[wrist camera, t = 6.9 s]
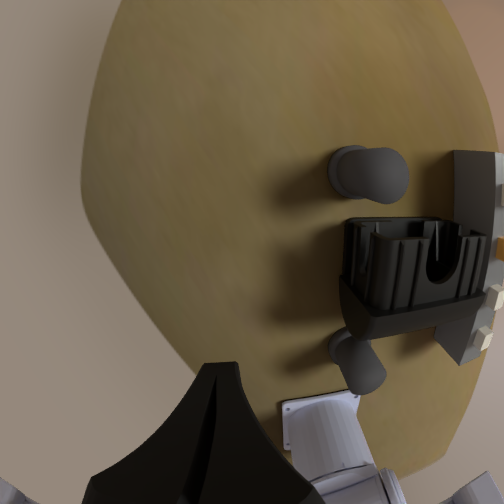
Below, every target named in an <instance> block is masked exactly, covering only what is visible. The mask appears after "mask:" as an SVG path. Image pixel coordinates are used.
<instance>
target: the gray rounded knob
mask: <svg viewBox="0 0 504 504" xmlns="http://www.w3.org/2000/svg"><path fill="white" fill-rule="evenodd" d="M328 178H329V181H330V183H331V185H332V187H333V188H334V189H335V190H336V191H337V192H338V193H339V194H341V195H343V196H345V197H348V198H351V199H364V198H366V199H369V200H372V201H375V202H378V203H382V204H391V203H394V202H396V201H398V200H399V199H400V198H401V197H402V196H403V195H404V193H405V192H406V190H407V187H408V183H409V171H408V167H407V164H406V162H405V160H404V159H403V157H402V156H401V155H400V154H399V153H398V152H396V151H395V150H393V149H390V148H371V149H367V148H365V147H363V146H358V145H353V146H346V147H342V148H340V149H338V150H337V151H336V152H335V153H334V154H333V155H332V156H331V158H330V160H329V163H328Z"/></svg>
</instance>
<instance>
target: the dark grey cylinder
mask: <svg viewBox="0 0 504 504" xmlns="http://www.w3.org/2000/svg"><path fill="white" fill-rule="evenodd" d="M328 351H329V353H330V356H331V358H332V360H333V362H334V363H336V364H337V365H339V367H340V370H341V372H342V374H343V376H344V379H345V381H346V383H347V386H348V388H349V390H350V392H351V393H352V394H354V395H365V394H368V393H371V392H373V391H374V390H376V389H377V388H378V387H380V386H381V384H382V383H383V382H384V380H385V378H386V370H385V368H384V367H383V365H382V363H381V362H380V360H379V359H378V357H377V355H376V354H375V352H374V351H373V349H372V348H371V340H366V341H359V340H356V339H355V338H354V337H352V335H351V334H350V333H349V331H348V329H347V327H344V328H342V329H340V330H339V331H337V332H336V333H335V334H334V335H333V336H332V338H331V339H330V341H329V344H328Z"/></svg>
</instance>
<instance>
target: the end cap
mask: <svg viewBox="0 0 504 504" xmlns="http://www.w3.org/2000/svg"><path fill="white" fill-rule="evenodd" d="M462 228H463V225H461V224H458V223H456V222H453V221H449V220H442V219H440V218H438V217H355V218H349V219H348V220H347V221H346V223H345V229H344V251H343V267H342V275H340V276H339V293H340V303H341V310H342V314H343V318H344V321H345V324H346V327H347V329H348V331H349V333H350V334H351V335H352V337H354V338H355V339H356V340H359V341H366V340H372V339H377V338H383V337H388V336H393V335H398V334H403V333H408V332H412V331H417V330H421V329H425V328H430V327H434V326H438V325H442V324H446V323H449V322H453V321H457V320H460V319H464V318H467V317H470V316H472V315H473V314H475V313H476V312H477V311H478V310H479V309H480V307H481V305H482V304H483V302H484V299H485V297H486V293H485V292H483V291H482V290H480V289H479V288H477V283H478V279H479V275H480V270H481V265H482V260H483V255H484V249H485V243H486V236H487V235H486V234H484V233H481V232H479V231H476V230H474V229H471V230H470V235H462Z"/></svg>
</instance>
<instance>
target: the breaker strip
mask: <svg viewBox="0 0 504 504" xmlns="http://www.w3.org/2000/svg"><path fill="white" fill-rule="evenodd" d="M453 151H454V183H455V186H454V218H453V222H456V223H458V224H461V225H463V228H462V235H470V230H471V229H474V230H476V231H479V232H481V233H484V234H486V235H487V236H486V243H485V249H484V255H483V260H482V265H481V270H480V275H479V279H478V283H477V288H479V289H480V290H482V291H483V292H485V293H486V297H485V299H484V302H483V304H482V305H481V307H480V309H479V310H478V311H477V312H476V313H475V314H473V315H472V316H470V317H467V318H464V319H460V320H457V321H453V322H449V323H446V324H442V325H438V326H436V330H435V334H434V339H435V340H436V341H437V342H438V343H439V344H440V345H441V346H442V347H443V348H444V349H445V351H446V352H447V353H448V354H449V355H450V356H451V357H452V358H453V359H454V361H455V362H456V363H457V364H458V365H459V366H460V365H462V364H464V363H467V362H469V361H471V360H473V359H475V358H477V357H479V356H480V354H481V351H482V350H484V349H486V348H488V346H489V343H490V341H491V338H492V336H493V333H494V332H493V331H492V330H491V329H490V326H491V323H492V320H493V317H494V314H495V310H497V309H499V308H501V307H502V305H503V301H504V288H503V287H502V283H503V279H504V154H501V153H496V152H486V151H468V150H453Z"/></svg>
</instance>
